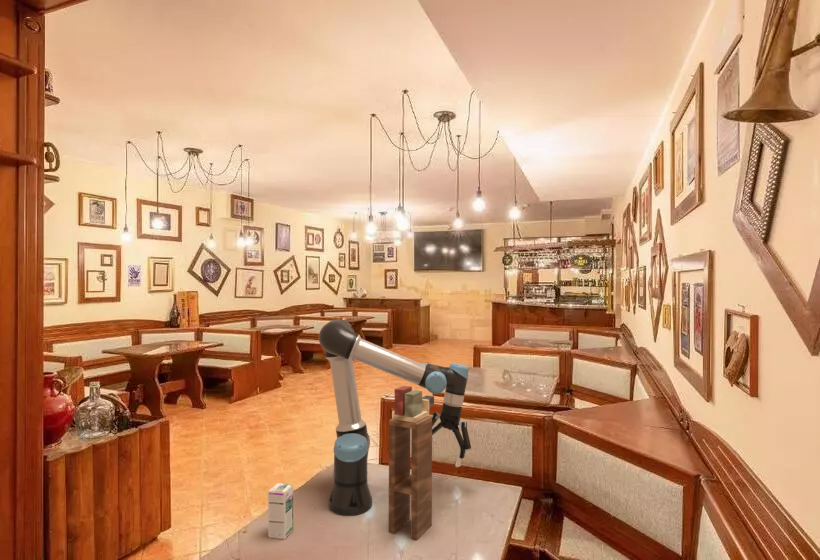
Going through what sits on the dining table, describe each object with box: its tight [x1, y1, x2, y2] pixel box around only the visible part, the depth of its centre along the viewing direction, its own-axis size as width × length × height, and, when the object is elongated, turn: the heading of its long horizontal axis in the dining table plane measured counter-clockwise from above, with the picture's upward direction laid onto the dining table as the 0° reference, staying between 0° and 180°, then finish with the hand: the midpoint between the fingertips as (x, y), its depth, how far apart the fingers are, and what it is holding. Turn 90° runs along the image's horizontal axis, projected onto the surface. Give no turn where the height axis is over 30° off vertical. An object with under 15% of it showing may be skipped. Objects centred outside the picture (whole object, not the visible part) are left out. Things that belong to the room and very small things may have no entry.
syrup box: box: [267, 482, 294, 540], centre depth 146 cm, size 6×6×14 cm
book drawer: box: [392, 385, 435, 423], centre depth 154 cm, size 8×19×10 cm, turn 152°
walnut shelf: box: [388, 415, 433, 541], centre depth 150 cm, size 10×10×35 cm
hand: (442, 460), depth 178 cm, fingers open, 13 cm apart
